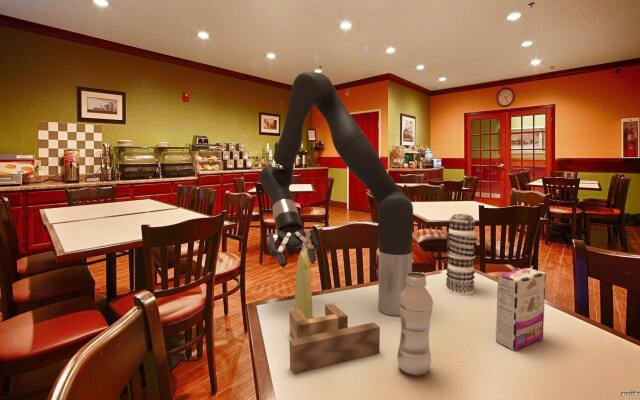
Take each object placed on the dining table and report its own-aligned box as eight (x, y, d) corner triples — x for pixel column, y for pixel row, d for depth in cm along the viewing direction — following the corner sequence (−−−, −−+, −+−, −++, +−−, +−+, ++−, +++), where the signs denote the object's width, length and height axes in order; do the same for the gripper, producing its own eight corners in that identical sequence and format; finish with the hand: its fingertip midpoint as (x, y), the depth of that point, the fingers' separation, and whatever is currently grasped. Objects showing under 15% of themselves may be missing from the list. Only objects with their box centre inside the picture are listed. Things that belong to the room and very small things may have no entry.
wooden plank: (373, 347, 79) (373, 322, 78) (379, 352, 76) (379, 327, 76) (290, 367, 71) (289, 339, 71) (293, 374, 69) (293, 345, 68)
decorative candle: (439, 286, 116) (441, 213, 113) (462, 284, 118) (465, 212, 115) (455, 297, 107) (458, 218, 104) (481, 294, 109) (484, 216, 107)
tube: (317, 319, 93) (316, 249, 90) (301, 324, 90) (300, 252, 88) (306, 312, 97) (305, 244, 95) (290, 316, 94) (289, 247, 92)
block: (333, 325, 89) (333, 303, 89) (347, 339, 82) (347, 315, 81) (289, 334, 85) (289, 311, 84) (300, 350, 77) (299, 325, 77)
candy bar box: (522, 330, 86) (526, 266, 84) (543, 339, 81) (547, 272, 80) (493, 341, 81) (496, 274, 79) (514, 352, 76) (518, 280, 74)
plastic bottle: (392, 362, 73) (394, 270, 71) (423, 360, 73) (426, 269, 71) (402, 381, 66) (404, 281, 64) (436, 379, 67) (439, 279, 65)
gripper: (265, 211, 99) (276, 260, 90) (311, 208, 104) (326, 254, 95) (261, 226, 104) (271, 274, 95) (305, 223, 110) (319, 268, 100)
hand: (299, 264), depth 95 cm, fingers open, 8 cm apart
